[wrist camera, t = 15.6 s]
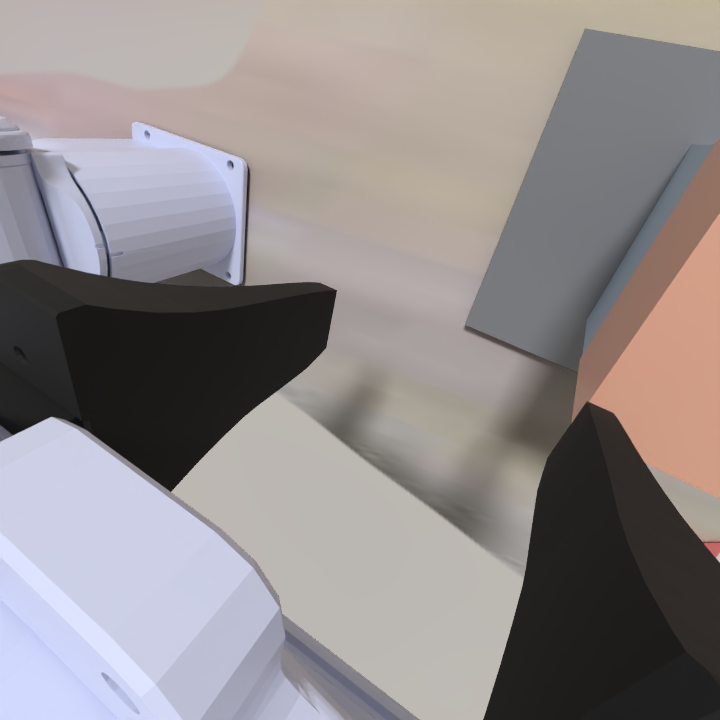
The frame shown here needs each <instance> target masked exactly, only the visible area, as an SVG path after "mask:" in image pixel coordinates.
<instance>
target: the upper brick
mask: <svg viewBox="0 0 720 720" xmlns="http://www.w3.org/2000/svg"><path fill="white" fill-rule="evenodd" d="M587 401H588V402H590V403H592V404H595V405H597V406H599V407H601V408H604V409H606V410H608V411H610V412H613V413H614V414H615V416H616V417H617V418H618V420H619V421H620V423H621V425H622V426H623V428H624V429H625V431H626V433H627V434H628V436H629V438H630V439H631V441H632V443H633V444H634V446H635V448H636V449H637V451H638V453H639V454H640V456H641V458H642V459H643V461H644V462H645V464H648V465H650V466H652V467H654V468H656V469H658V470H660V471H663V472H665V473H667V474H669V475H671V476H673V477H675V478H677V479H680V480H682V481H684V482H686V483H688V484H690V485H692V486H695V487H697V488H699V489H701V490H703V491H705V492H707V493H709V494H712V495H714V496H716V497H718V498H720V139H718V140H717V141H716V143H715V144H714V146H713V148H712V149H711V151H710V152H709V154H708V156H707V157H706V159H705V160H704V162H703V164H702V165H701V167H700V168H699V170H698V172H697V173H696V175H695V176H694V178H693V180H692V181H691V183H690V184H689V186H688V188H687V189H686V191H685V192H684V194H683V195H682V197H681V199H680V200H679V202H678V203H677V205H676V207H675V208H674V210H673V211H672V213H671V215H670V216H669V218H668V219H667V221H666V223H665V224H664V226H663V227H662V229H661V231H660V232H659V234H658V235H657V237H656V239H655V240H654V242H653V243H652V245H651V247H650V248H649V250H648V251H647V253H646V254H645V256H644V258H643V259H642V261H641V262H640V264H639V266H638V267H637V269H636V270H635V272H634V274H633V275H632V277H631V278H630V280H629V282H628V283H627V285H626V286H625V288H624V290H623V291H622V293H621V294H620V296H619V298H618V299H617V301H616V302H615V304H614V306H613V307H612V309H611V310H610V312H609V313H608V315H607V317H606V318H605V320H604V321H603V323H602V325H601V326H600V328H599V329H598V331H597V333H596V334H595V336H594V337H593V339H592V341H591V342H590V344H589V345H588V347H587V349H586V350H585V352H584V353H583V355H582V357H581V358H580V363H579V370H578V377H577V385H576V392H575V399H574V406H573V414H572V421H571V423H572V422H573V421H574V419H575V418H576V416H577V415H578V413H579V412H580V410H581V409H582V407H583V406H584V405H585V403H586V402H587Z"/></svg>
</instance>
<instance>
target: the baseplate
mask: <svg viewBox="0 0 720 720" xmlns="http://www.w3.org/2000/svg"><path fill="white" fill-rule="evenodd" d="M718 139H720V51H715V50H709V49H703V48H697V47H691V46H685V45H679V44H673V43H667V42H661V41H655V40H649V39H644V38H638V37H632V36H626V35H620V34H614V33H608V32H602V31H596V30H590V29H585V30H584V33H583V35H582V38H581V40H580V43H579V45H578V48H577V50H576V53H575V55H574V57H573V60H572V62H571V65H570V67H569V70H568V72H567V75H566V77H565V80H564V82H563V85H562V87H561V90H560V92H559V94H558V97H557V99H556V102H555V104H554V107H553V109H552V112H551V114H550V117H549V119H548V122H547V124H546V127H545V129H544V131H543V134H542V136H541V139H540V141H539V144H538V146H537V149H536V151H535V154H534V156H533V159H532V161H531V163H530V166H529V168H528V171H527V173H526V176H525V178H524V181H523V183H522V186H521V188H520V191H519V193H518V196H517V198H516V200H515V203H514V205H513V208H512V210H511V213H510V215H509V218H508V220H507V223H506V225H505V228H504V230H503V233H502V235H501V237H500V240H499V242H498V245H497V247H496V250H495V252H494V255H493V257H492V260H491V262H490V265H489V267H488V269H487V272H486V274H485V277H484V279H483V282H482V284H481V287H480V289H479V292H478V294H477V297H476V299H475V302H474V304H473V306H472V309H471V311H470V314H469V316H468V319H467V321H466V324H465V325H466V326H469V327H471V328H473V329H476V330H478V331H481V332H483V333H485V334H488V335H490V336H492V337H495V338H497V339H499V340H502V341H504V342H506V343H509V344H511V345H513V346H516V347H518V348H521V349H523V350H525V351H528V352H530V353H532V354H535V355H537V356H539V357H542V358H544V359H546V360H549V361H551V362H554V363H556V364H558V365H561V366H563V367H565V368H568V369H570V370H572V371H575V372H577V373H578V370H579V363H580V358H581V357H582V354H583V346H584V338H585V331H586V323H587V319H588V317H589V315H590V314H591V312H592V310H593V309H594V307H595V305H596V304H597V302H598V300H599V299H600V297H601V295H602V294H603V292H604V290H605V289H606V287H607V285H608V284H609V282H610V280H611V279H612V277H613V275H614V274H615V272H616V270H617V269H618V267H619V265H620V264H621V262H622V260H623V259H624V257H625V255H626V254H627V252H628V250H629V249H630V247H631V245H632V244H633V242H634V240H635V239H636V237H637V235H638V234H639V232H640V230H641V229H642V227H643V225H644V224H645V222H646V220H647V219H648V217H649V215H650V214H651V212H652V210H653V209H654V207H655V205H656V204H657V202H658V200H659V199H660V197H661V195H662V193H663V192H664V190H665V188H666V187H667V185H668V183H669V182H670V180H671V178H672V177H673V175H674V173H675V172H676V170H677V168H678V167H679V165H680V163H681V162H682V160H683V158H684V157H685V155H686V153H687V152H688V150H689V148H690V147H691V145H692V144H697V145H714V144H715V143H716V141H717V140H718Z"/></svg>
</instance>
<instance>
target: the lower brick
mask: <svg viewBox="0 0 720 720" xmlns="http://www.w3.org/2000/svg"><path fill="white" fill-rule="evenodd" d="M713 146H714V145H697V144H692V145H691V147H690V148H689V150H688V152H687V153H686V155H685V157H684V158H683V160H682V162H681V163H680V165H679V167H678V168H677V170H676V172H675V173H674V175H673V177H672V178H671V180H670V182H669V183H668V185H667V187H666V188H665V190H664V192H663V193H662V195H661V197H660V199H659V200H658V202H657V204H656V205H655V207H654V209H653V210H652V212H651V214H650V215H649V217H648V219H647V220H646V222H645V224H644V225H643V227H642V229H641V230H640V232H639V234H638V235H637V237H636V239H635V240H634V242H633V244H632V245H631V247H630V249H629V250H628V252H627V254H626V255H625V257H624V259H623V260H622V262H621V264H620V265H619V267H618V269H617V270H616V272H615V274H614V275H613V277H612V279H611V280H610V282H609V284H608V285H607V287H606V289H605V290H604V292H603V294H602V295H601V297H600V299H599V300H598V302H597V304H596V305H595V307H594V309H593V310H592V312H591V314H590V315H589V317H588V319H587V323H586V331H585V338H584V346H583V353H584V352H585V350H586V349H587V347H588V345H589V344H590V342H591V341H592V339H593V337H594V336H595V334H596V333H597V331H598V329H599V328H600V326H601V325H602V323H603V321H604V320H605V318H606V317H607V315H608V313H609V312H610V310H611V309H612V307H613V306H614V304H615V302H616V301H617V299H618V298H619V296H620V294H621V293H622V291H623V290H624V288H625V286H626V285H627V283H628V282H629V280H630V278H631V277H632V275H633V274H634V272H635V270H636V269H637V267H638V266H639V264H640V262H641V261H642V259H643V258H644V256H645V254H646V253H647V251H648V250H649V248H650V247H651V245H652V243H653V242H654V240H655V239H656V237H657V235H658V234H659V232H660V231H661V229H662V227H663V226H664V224H665V223H666V221H667V219H668V218H669V216H670V215H671V213H672V211H673V210H674V208H675V207H676V205H677V203H678V202H679V200H680V199H681V197H682V195H683V194H684V192H685V191H686V189H687V188H688V186H689V184H690V183H691V181H692V180H693V178H694V176H695V175H696V173H697V172H698V170H699V168H700V167H701V165H702V164H703V162H704V160H705V159H706V157H707V156H708V154H709V152H710V151H711V149H712V148H713ZM582 355H583V354H582Z"/></svg>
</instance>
